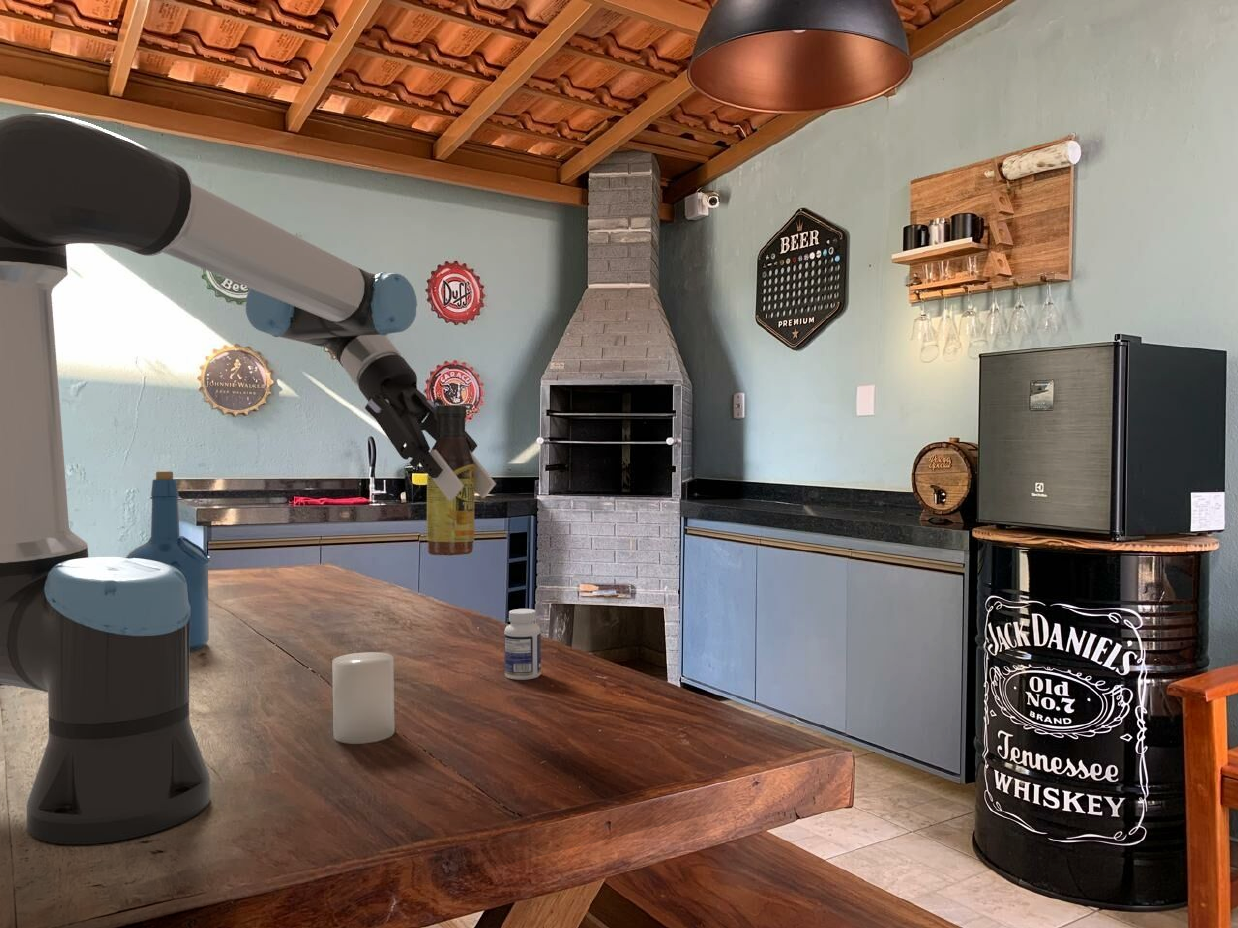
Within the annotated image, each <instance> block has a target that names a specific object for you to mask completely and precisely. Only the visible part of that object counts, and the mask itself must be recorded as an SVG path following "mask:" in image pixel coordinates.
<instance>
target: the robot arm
mask: <svg viewBox="0 0 1238 928" xmlns="http://www.w3.org/2000/svg"><path fill="white" fill-rule="evenodd" d="M72 244H94V245H95V244H97V245H98V244H100V245H106V246H108V245H109V246H114V247H117V248H122V249H126V250H128V251H131V252H133V253H135V254H138V255H142V256H143V257H144V256H145V257H152V256H157V255H160V254H162V253H163V254H165V255H169V256H171V257H173V258H176V259H178V260H181V261H183V262H185V263H188V264H190V265H192V266H195V267H197V268H199V269H203V270H205V271H207V272H210V273H212V274H215V275H217V276H220V277H221V278H224V279H227V280H229V281H231V282H234V283H237V284H239V285H241V286H243V287H246V288H249V290H248V292H247V295H246V300H245V302H246V303H245V315H246V317H247V319H248V321H249V323H250V325H251V327H253V328H255V329H256V330H257V331H259V332H263V333H265V334H267V335H271V336H272V337H274V338H282V339H283V338H284V339H286V340H291V341H296V342H299V343H300V342H301V343H305V344H309V345H312V346H317V347H321V348H325V349H327V350H328V351H330V353H331V354H332V355H333V356H334V358H335V359H336V360H337V361H338V362H339V364H340V365H341V367H342V368H343V369H344V370H345V372H346V373H347V374H348V376H349V378H350V379H351V380H352V382H354V384H355V385H356V386H357V387H358V389H359V391H360V392H361V394H362V395H363V396H364V398H365V400H367V404H366V405H365V407H364V409H365V410H366V411H367V413H369V415H370V416H371V417H373V419H375V421H376V422H377V423H378V425H379V427H380V428H381V429H382V431H383V433H384V434H385V435H386V436H387V438H388V440H389V441H390V443H391V444H392V446H393V447H394V448H395V450H396V452H397V453H398V455H399V456H400V457H401V459H403V460H409V459H411V460H410V462H409V464H410V466H411V467H413V468H416V467H418V466H419V465H420V466H421V467H422V468H423V469H424V471H425V472H426V473H427V475H429V476H430V477H431V478H432V479H433V480H434V482H435V483H436V484H437V486H438V487H439V488H440V490H441V491H442V492H443V494H444V495H445V496H446V498H447V499H448V500H453V499H454V498H455V496H456V495H457V494H458V493H459V491H460V490H461V489H462V488H463V486H464V485H463V484H462V482H461V481H460V480H459V479H458V477H457V476H456V475H455V473H454V472H453V471H452V469H451V468H450V467H449V466H448V464H447V463H446V462H445V460H444V459H443V458H442V457H441V455H440V454H439V453H438V451H437V450H432V451H431V447H430V445H429V443H428V440H427V439H426V436H425V434H424V433H423V431H424V432H426V433H427V434H428V435H429V436H430V437H431V438H432V439H434V441H435V442H436V441H437V439H438V438H437V436H436V435H437V416H436V406H437V405H446V404H445V402H444V401H443V400H442V399H441V398H439V397H436V398H435V399H434V401H432V400H428V399H427V396H426V395H425V394H424V393H422V392H421V391H419V389H418V386H417V384H418V383H417V382H418V381H417V380H418V376H417V374H416V372H415V370H414V369H413V368H412V367H411V365H410V364H409V363H408V362H407V360H406V359H405V357H403V356H402V354H401V352H400V351H399V350H398V349H397V348H396V346H395V345H394V344H393V343H392V341H391V340H390V339H389V338H388V336H387V335H388V334H396V333H403V332H405V331H407V330H408V329H409V328H410V327H411V326H412V325H413V323H414V322H415V319H416V316H417V306H418V302H417V301H418V299H417V296H416V295H417V294H416V292H415V289H414V287H413V285H412V283H411V282H410V281H409V279H408V278H406V277H405V276H404V275H402V274H400V273H396V272H395V273H393V272H392V273H388V272H385V271H384V272H383V271H382V272H379V273H376V274H375V273H370V272H368V271H367V270H364V269H362V268H360V267H358V266H356V265H354V264H351V263H350V262H348V261H346V260H344V259H343V258H340V257H338V256H337V255H334V254H332V253H330V252H328V251H326V250H325V249H323V248H320V247H319V246H317V245H314V244H312V243H310V242H308V241H307V240H305V239H303V238H301V237H299V236H297V235H296V234H293V233H291V232H290V231H287V230H286V229H283V228H281V227H279V226H278V225H275V224H273V223H272V222H270V221H267V220H266V219H264V218H262V217H261V216H258V215H256V214H254V213H252V212H250V211H249V210H246V209H244V208H241V207H240V206H239V205H236V204H234V203H233V202H230V201H228V200H226V199H224V198H223V197H221V196H218V195H216V194H215V193H213V192H211V191H208V190H206V189H205V188H202V187H201V186H199V185H197V184H195V183H193V180H192V178H191V176H190V174H189V172H188V171H187V169H186V168H184V166H183V165H180V164H179V163H177V162H175V161H173V160H171V159H170V158H167V157H166V156H164V155H162V154H160V153H158V152H156V151H154V150H152V149H150V148H149V147H145V146H143V145H141V144H139V143H138V142H135V141H133V140H130V139H128V138H127V137H124V136H121V135H119V134H117V133H114V132H113V131H109V130H106V129H103V128H102V127H99V126H96V125H94V124H92V123H88V122H86V121H82V120H79V119H75V118H71V117H67V116H63V115H58V114H52V113H41V112H32V113H22V114H16V115H13V116H9V117H6V118H3V119H0V686H7V687H16V688H20V689H21V688H23V689H29V690H33V691H34V690H35V691H40V692H47V697H48V699H47V701H48V706H47V707H48V708H47V709H48V710H47V711H48V714H47V715H48V739H47V744H46V747H45V750H44V751H43V752H44V753H43V755H42V758H41V762H40V764H39V768H38V770H37V773H36V776H35V779H34V782H33V783H32V788H31V790H30V793H29V796H28V798H27V803H26V830H27V832H28V834H29V835H30V836H32V837H33V838H34V839H37V840H39V841H42V842H47V843H52V844H59V845H90V844H91V845H92V844H102V843H105V844H106V843H112V842H118V841H124V840H130V839H135V838H138V837H143V836H146V835H151V834H154V833H158V832H160V831H164V830H166V829H170V828H172V827H175V826H177V825H179V824H182V823H184V822H186V821H188V820H190V819H191V818H194V817H195V816H197V814H199V813H200V812H202V811H203V810H204V809H205V808H206V807H207V806H208V804H209V802H210V800H211V781H210V775H209V774H210V772H209V770H208V768H207V765H206V762H205V759H204V757H203V755H202V752H201V748H200V746H199V744H198V742H197V741H198V740H197V738H196V736H195V733H194V730H193V728H192V725H191V722H190V721H191V720H190V657H191V656H190V654H191V653H190V652H191V651H190V612H191V608H190V605H189V602H188V593H187V583H186V579H185V577H184V576H183V574H182V573H181V572H180V571H179V570H178V569H176V568H175V567H173V566H171V565H168V564H165V563H162V562H158V561H153V560H147V559H140V558H130V559H129V558H126V557H121V556H96V557H95V556H94V557H93V556H91V557H89V548H88V547H89V546H88V542H86V541H85V540H84V539H83V538H81V537H80V536H78V535H77V534H76V533H75V532H73V531H72V529H70V524H69V509H68V495H67V482H66V471H65V458H64V445H63V443H64V442H63V432H62V428H63V427H62V418H61V417H62V416H61V404H60V401H61V400H60V390H59V379H58V377H59V376H58V364H57V362H58V361H57V352H56V351H57V350H56V349H57V348H56V339H55V326H54V325H55V324H54V323H55V322H54V309H53V298H52V297H53V296H52V293H53V290H54V289H55V288H56V286H57V285H58V284H60V283H61V282H62V281H63V280H64V279H65V278H66V277H67V276H68V275H69V273H68V260H67V259H68V257H67V245H72ZM465 434H466V441H467V444H468V447H469V450H470V453H471V456H472V459H473V462H474V465H475V478H474V489H475V490H474V491H475V492H476V493H477V494H478V496H479V497H480V498H481V499H484V498H486V497H487V496H488V495H489V494H490V492H491V491H492V490H493V489H494V487H495V486H496V485H497V482H495V480H494V479H493V478H492V477H491V476H490V474H489V473H488V472H487V470H486V469H485V467H484V466H483V465H482V464H481V462H480V461H479V460H478V459H477V457H476V456H475V455H474V454H473V452H474V451H475V450H476V449H477V448H478V443H477V442H475V440H474V439H473V437H471V435H469V433H468V432H467V431H466V430H465ZM430 451H431V452H430Z"/></svg>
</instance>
